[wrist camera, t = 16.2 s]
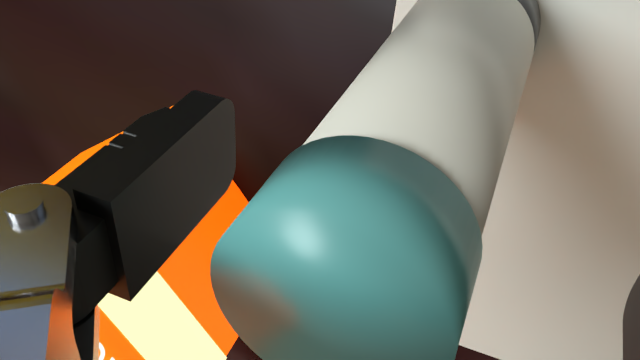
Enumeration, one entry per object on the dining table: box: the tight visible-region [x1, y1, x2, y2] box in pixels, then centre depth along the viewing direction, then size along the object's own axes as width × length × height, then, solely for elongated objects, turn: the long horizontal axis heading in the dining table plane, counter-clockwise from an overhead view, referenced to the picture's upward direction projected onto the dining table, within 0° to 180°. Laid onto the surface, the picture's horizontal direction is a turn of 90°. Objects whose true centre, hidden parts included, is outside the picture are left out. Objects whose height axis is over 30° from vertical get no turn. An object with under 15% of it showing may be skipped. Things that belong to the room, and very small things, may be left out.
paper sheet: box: [392, 0, 640, 360], centre depth 20 cm, size 14×18×1 cm
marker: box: [210, 0, 541, 360], centre depth 13 cm, size 4×4×12 cm
